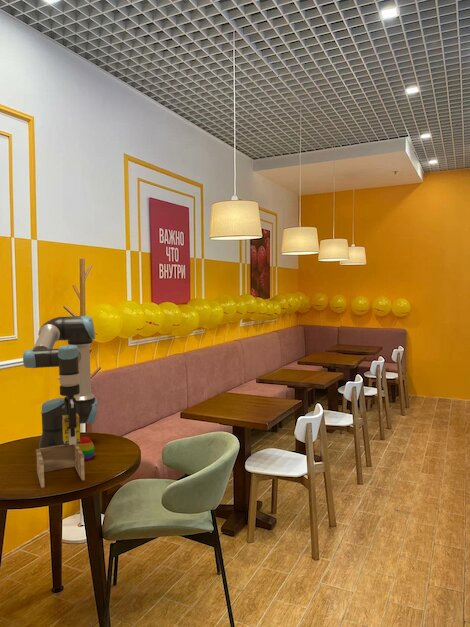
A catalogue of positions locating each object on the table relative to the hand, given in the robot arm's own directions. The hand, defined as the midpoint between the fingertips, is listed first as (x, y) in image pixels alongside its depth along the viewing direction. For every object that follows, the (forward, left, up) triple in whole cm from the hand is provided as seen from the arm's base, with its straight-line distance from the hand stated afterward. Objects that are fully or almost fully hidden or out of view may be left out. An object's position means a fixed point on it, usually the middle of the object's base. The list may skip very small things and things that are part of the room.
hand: (71, 441), depth 193 cm
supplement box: (0, 0, -1) cm, 1 cm away
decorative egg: (-20, +19, -16) cm, 32 cm away
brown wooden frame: (-10, 0, -16) cm, 19 cm away
